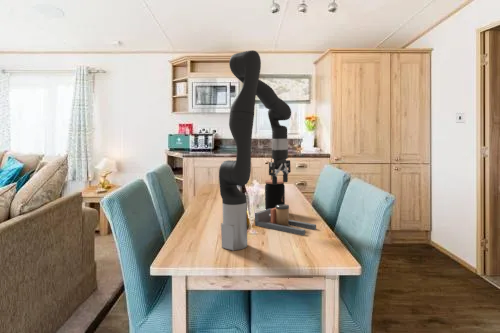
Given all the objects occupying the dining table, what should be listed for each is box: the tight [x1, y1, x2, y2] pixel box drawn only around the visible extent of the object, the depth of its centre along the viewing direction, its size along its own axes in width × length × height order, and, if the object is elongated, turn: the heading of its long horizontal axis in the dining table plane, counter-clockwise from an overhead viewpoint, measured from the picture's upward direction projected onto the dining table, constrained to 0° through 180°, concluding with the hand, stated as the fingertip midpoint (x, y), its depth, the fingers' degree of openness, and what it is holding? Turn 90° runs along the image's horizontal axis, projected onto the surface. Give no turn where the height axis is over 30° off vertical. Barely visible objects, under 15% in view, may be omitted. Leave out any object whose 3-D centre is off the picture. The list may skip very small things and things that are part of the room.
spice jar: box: [276, 203, 290, 227], centre depth 149 cm, size 6×6×10 cm
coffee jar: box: [264, 179, 286, 210], centre depth 174 cm, size 11×11×18 cm
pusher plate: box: [269, 208, 276, 224], centre depth 152 cm, size 4×7×8 cm, turn 140°
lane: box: [254, 208, 317, 236], centre depth 148 cm, size 26×12×6 cm, turn 50°
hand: (280, 183), depth 149 cm, fingers open, 8 cm apart
